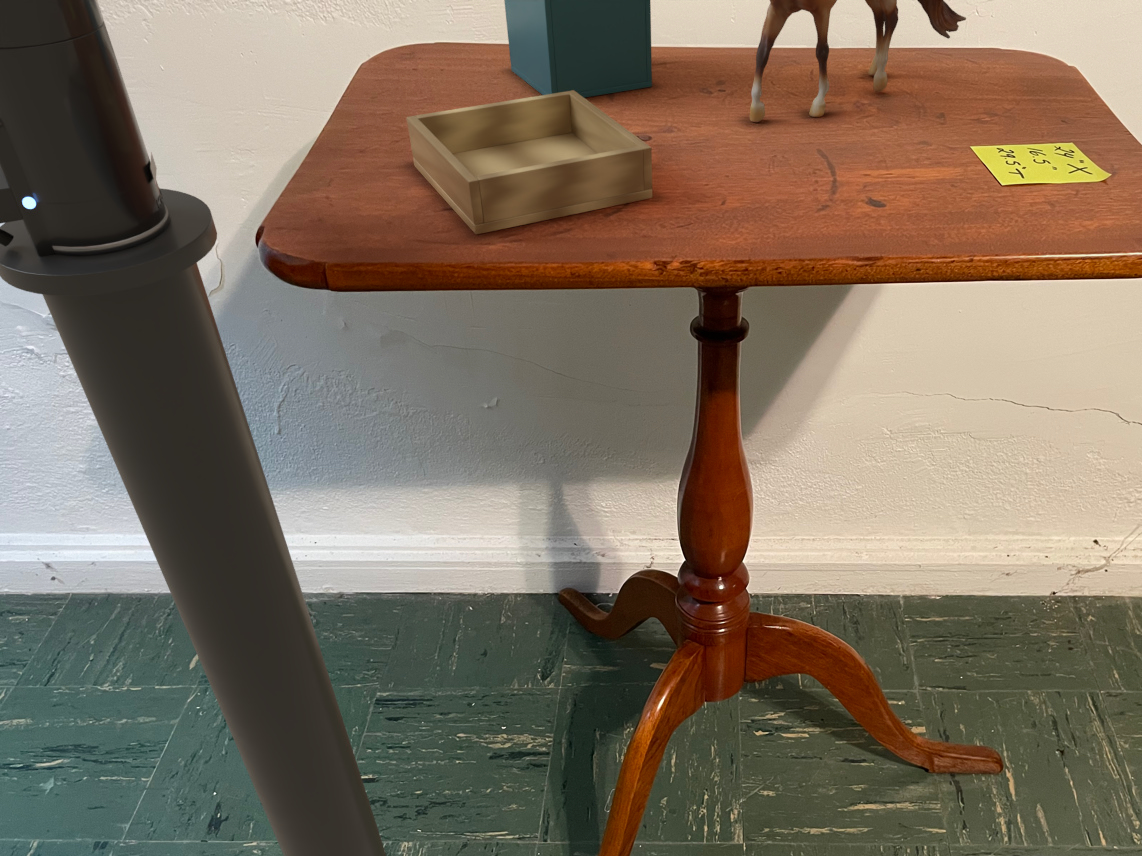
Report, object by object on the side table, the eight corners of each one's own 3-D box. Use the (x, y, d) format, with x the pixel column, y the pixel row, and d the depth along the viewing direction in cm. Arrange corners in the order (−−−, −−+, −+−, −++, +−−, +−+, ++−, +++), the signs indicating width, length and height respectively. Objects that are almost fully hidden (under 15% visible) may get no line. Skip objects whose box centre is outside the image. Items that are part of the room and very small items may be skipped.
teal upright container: (552, 103, 107) (543, -13, 101) (511, 70, 115) (500, -40, 108) (652, 86, 112) (650, -26, 105) (606, 56, 119) (601, -50, 112)
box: (475, 235, 84) (468, 181, 82) (414, 166, 95) (405, 116, 92) (652, 198, 90) (651, 147, 88) (577, 137, 101) (573, 89, 98)
